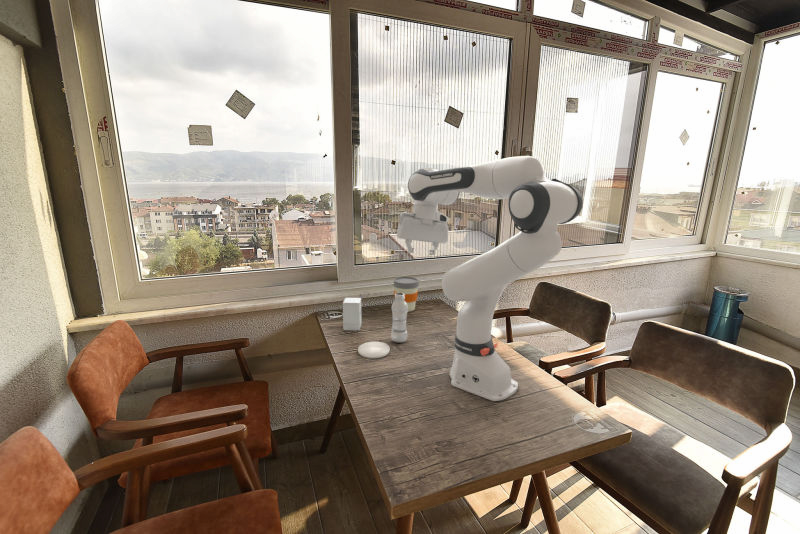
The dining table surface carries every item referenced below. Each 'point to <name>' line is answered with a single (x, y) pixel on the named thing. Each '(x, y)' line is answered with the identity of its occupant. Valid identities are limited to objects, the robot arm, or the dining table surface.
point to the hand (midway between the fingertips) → (421, 254)
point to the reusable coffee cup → (407, 290)
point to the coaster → (373, 349)
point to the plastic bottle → (399, 319)
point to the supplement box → (352, 314)
